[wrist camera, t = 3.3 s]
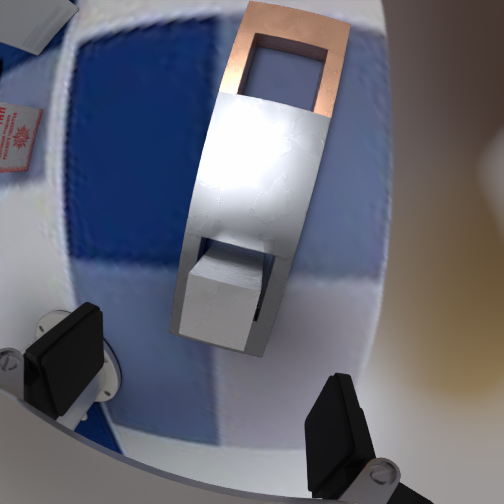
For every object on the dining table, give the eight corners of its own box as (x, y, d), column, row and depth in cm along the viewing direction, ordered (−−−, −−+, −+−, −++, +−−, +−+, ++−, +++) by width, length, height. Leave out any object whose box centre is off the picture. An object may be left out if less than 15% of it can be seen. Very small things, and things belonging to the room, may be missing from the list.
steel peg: (252, 297, 24) (243, 351, 16) (206, 286, 24) (178, 333, 16) (264, 253, 23) (260, 291, 15) (215, 241, 23) (188, 273, 15)
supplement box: (81, 8, 17) (14, -35, 5) (38, 57, 19) (-38, 33, 7) (61, -8, 16) (4, -43, 4) (23, 35, 18) (-41, 13, 5)
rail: (262, 341, 25) (261, 357, 23) (177, 319, 25) (169, 332, 23) (343, 37, 18) (350, 24, 15) (251, 15, 18) (249, 0, 15)
